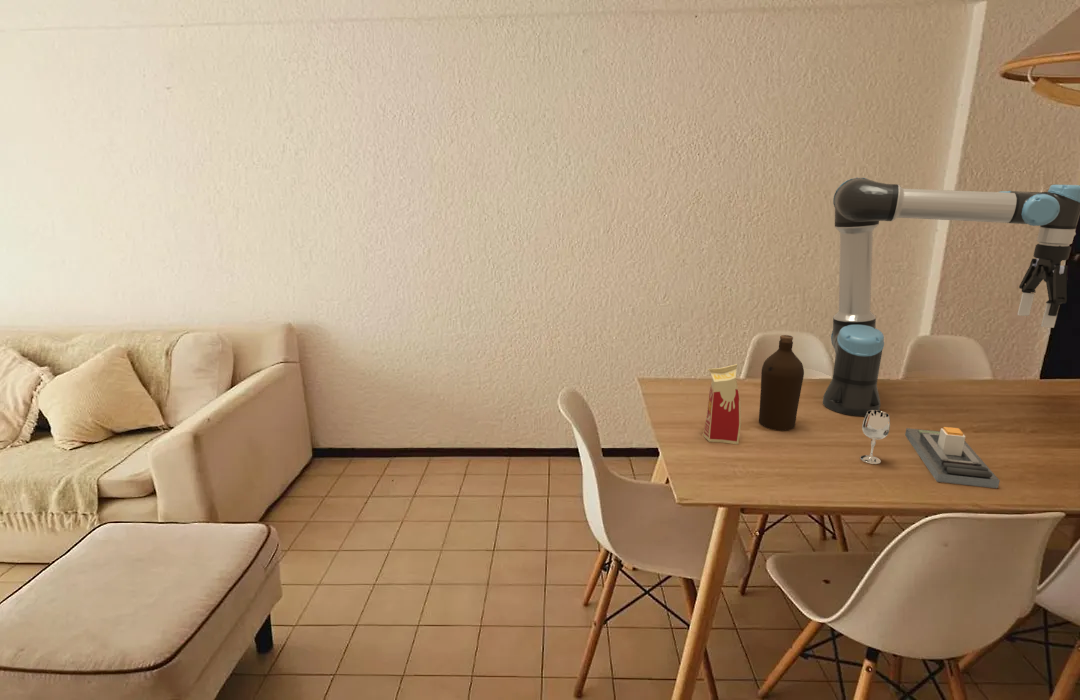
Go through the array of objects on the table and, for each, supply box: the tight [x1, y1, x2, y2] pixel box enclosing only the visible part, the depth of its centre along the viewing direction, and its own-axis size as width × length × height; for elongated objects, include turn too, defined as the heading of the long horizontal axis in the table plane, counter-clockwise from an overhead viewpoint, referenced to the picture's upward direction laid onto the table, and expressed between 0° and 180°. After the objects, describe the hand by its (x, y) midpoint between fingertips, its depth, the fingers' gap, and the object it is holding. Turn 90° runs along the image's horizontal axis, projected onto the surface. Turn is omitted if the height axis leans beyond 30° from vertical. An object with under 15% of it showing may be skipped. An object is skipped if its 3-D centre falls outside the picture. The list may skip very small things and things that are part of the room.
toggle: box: [938, 426, 966, 456], centre depth 151 cm, size 4×4×6 cm
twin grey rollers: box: [943, 463, 992, 478], centre depth 141 cm, size 9×4×1 cm, turn 75°
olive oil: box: [758, 334, 805, 432], centre depth 169 cm, size 11×11×25 cm
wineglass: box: [859, 410, 891, 465], centre depth 151 cm, size 6×6×12 cm
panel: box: [904, 427, 1001, 489], centre depth 152 cm, size 12×26×3 cm, turn 165°
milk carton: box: [702, 363, 742, 445], centre depth 163 cm, size 9×9×20 cm
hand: (1034, 321), depth 175 cm, fingers open, 13 cm apart
